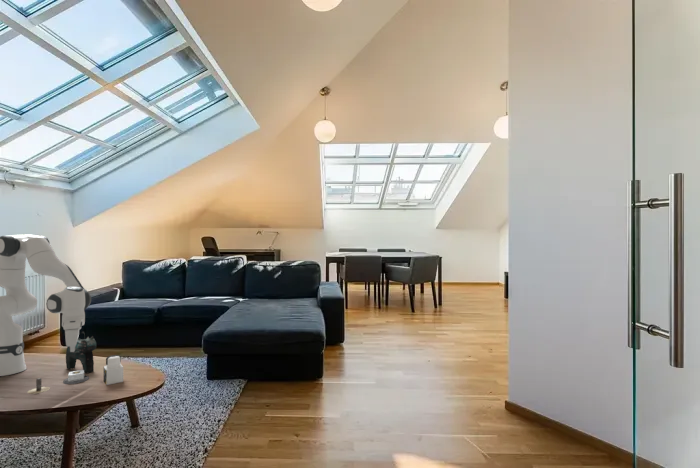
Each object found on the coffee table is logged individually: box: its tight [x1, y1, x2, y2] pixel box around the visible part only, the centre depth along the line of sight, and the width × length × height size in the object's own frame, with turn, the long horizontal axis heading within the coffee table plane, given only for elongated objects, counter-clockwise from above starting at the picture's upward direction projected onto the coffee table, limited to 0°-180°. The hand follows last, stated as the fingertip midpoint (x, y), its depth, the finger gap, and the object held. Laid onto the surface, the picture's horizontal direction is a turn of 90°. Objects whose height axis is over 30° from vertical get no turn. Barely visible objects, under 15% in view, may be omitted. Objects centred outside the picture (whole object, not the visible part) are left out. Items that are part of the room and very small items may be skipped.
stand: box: [26, 377, 51, 395], centre depth 176 cm, size 8×8×6 cm
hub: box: [62, 373, 90, 385], centre depth 188 cm, size 10×10×4 cm
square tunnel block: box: [67, 369, 85, 382], centre depth 189 cm, size 6×6×3 cm
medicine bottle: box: [103, 354, 124, 386], centre depth 189 cm, size 7×7×12 cm
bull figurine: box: [65, 331, 97, 374], centre depth 205 cm, size 20×6×20 cm, turn 64°
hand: (72, 351), depth 187 cm, fingers closed
